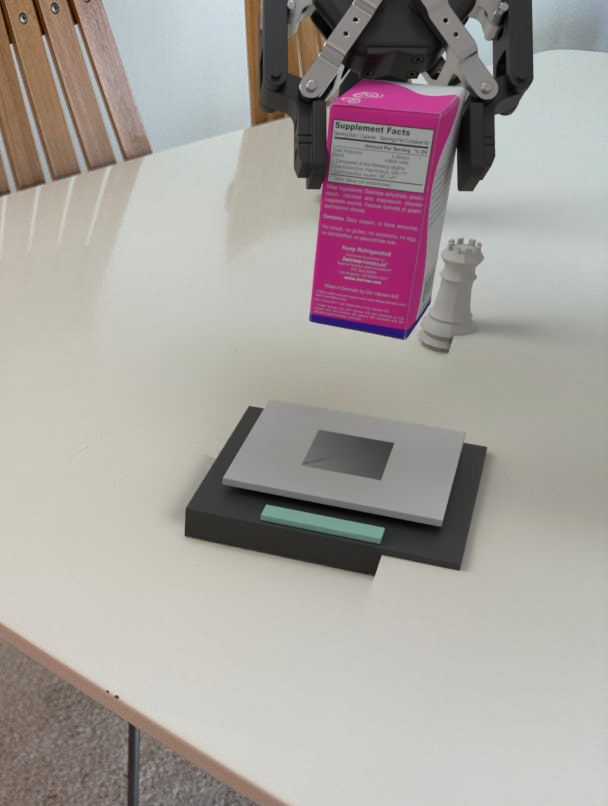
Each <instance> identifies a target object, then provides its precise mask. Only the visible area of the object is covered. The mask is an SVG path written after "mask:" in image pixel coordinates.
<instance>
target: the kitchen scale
mask: <svg viewBox="0 0 608 806" xmlns="http://www.w3.org/2000/svg"><path fill="white" fill-rule="evenodd" d="M466 436H467V432H466V431H461V430H454V429H449V428H442V427H437V426H431V425H425V424H420V423H419V424H418V423H414V422H406V421H402V420H395V419H390V418H389V419H388V418H383V417H378V416H371V415H366V414H360V413H353V412H348V411H342V410H336V409H331V408H326V407H325V408H324V407H318V406H312V405H308V404H307V405H306V404H300V403H296V402H295V403H294V402H289V401H283V400H277V399H268V401H267V402H266V404H265V406H264V407H258V406H253V405H248V407H247V408H246V409H245V411H244V413H243V415H242V416H241V418H240V420H239V421H238V423H237V425H235V428H234V430H233V431H232V432H231V434H230V436H229V437H228V439H227V441H226V442H225V444H224V445H223V446H222V448H221V451H219V454H218V455H217V457H216V458H215V460H214V462H213V463H212V465H211V467H210V468H209V470H208V472H207V473H206V474H205V476H204V478H203V479H202V481H201V482H200V484H199V485H198V488H197V489H196V491H195V492H194V494H193V495H192V497H191V499H190V500H189V502H188V503H187V505H186V507H185V510H184V511H185V512H184V513H185V514H184V534H183V535H184V537H189V538H193V539H197V540H202V541H207V542H212V543H216V544H221V545H226V546H232V547H236V548H241V549H244V550H245V549H246V550H250V551H255V552H259V553H260V552H261V553H265V554H269V555H274V556H279V557H284V558H287V559H288V558H289V559H293V560H298V561H302V562H307V563H311V564H317V565H320V566H325V567H330V568H335V569H341V570H345V571H350V572H354V573H360V574H364V575H369V576H376V574H377V571H378V568H379V565H380V562H381V559H382V556H385V557H390V558H396V559H399V560H400V559H401V560H404V561H405V560H406V561H410V562H415V563H420V564H425V565H430V566H434V567H440V568H443V569H449V570H455V571H460V570H461V566H462V562H463V557H464V553H465V550H466V549H465V548H466V544H467V540H468V535H469V530H470V526H471V522H472V517H473V513H474V509H475V504H476V499H477V495H478V492H479V491H478V490H479V486H480V482H481V478H482V473H483V468H484V464H485V460H486V455H487V451H488V446H485V445H480V444H474V443H469V442H465V440H466V439H465V438H466Z"/></svg>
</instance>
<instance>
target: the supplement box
mask: <svg viewBox="0 0 608 806" xmlns="http://www.w3.org/2000/svg"><path fill="white" fill-rule="evenodd" d="M466 92H467V89H466V88H465V87H459V86H445V85H429V84H428V83H426V84H425V83H414V82H408V83H404V82H394V81H384V80H373V79H362V80H361V81H360V82H358V83H357V84H356V85H355V86H353V87H352V88H351V89H350V90H348V91H347V92H346V93H344V94H343V95H342V96H341V97H339V98H338V97H337V98H336V99H335V100H333V102H331V103H330V104H329V114H328V123H327V124H328V125H327V144H326V147H327V166H326V174H325V177H324V180H323V183H322V186H321V195H320V205H319V215H318V226H317V237H316V245H315V253H314V254H315V255H314V264H313V265H314V267H313V275H312V285H311V296H310V304H309V305H310V306H309V316H308V321H309V322H311V323H312V324H313V323H314V324H318V325H324V326H328V327H329V326H330V327H335V328H339V329H346V330H351V331H356V332H361V333H367V334H372V335H377V336H382V337H386V338H391V339H396V340H401V341H406V340H407V339H408V338H409V337H410V335H411V334H412V333H413V331H414V330H415V329H416V327H417V325H418V324H419V322H420V321H421V319H422V318H423V317H424V315H425V313H426V311H427V309H428V308H429V307H430V305H431V303H432V295H433V294H432V293H433V288H434V283H435V277H436V270H437V264H438V259H439V258H438V257H439V253H440V245H441V241H442V234H443V230H444V225H445V224H444V223H445V217H446V212H447V205H448V200H449V195H450V189H451V184H452V178H453V172H454V166H455V161H456V156H457V143H458V137H459V132H460V126H461V120H462V115H463V109H464V103H465V97H466Z"/></svg>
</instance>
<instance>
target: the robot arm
mask: <svg viewBox="0 0 608 806" xmlns="http://www.w3.org/2000/svg"><path fill="white" fill-rule="evenodd" d="M257 17H258V18H257V20H258V21H257V22H258V23H257V24H258V27H257V28H258V29H257V30H258V35H257V36H258V37H257V38H258V39H257V40H258V54H257V55H258V57H257V58H258V61H257V62H258V65H257V66H258V67H257V68H258V69H257V70H258V71H257V72H258V74H257V75H258V77H257V78H258V107H259V109H260V110H261V111H262V112H264V113H266V114H274V113H276V112H280V113H283V114H285V115H287V116H289V118H290V119H291V120H292V123H293V124H292V125H293V170H294V173H295V175H296V178H297V179H305V188H306V190H322V185H323V180H324V177H325V174H326V166H327V147H326V144H327V134H328V125H327V124H328V123H327V121H328V119H327V101H328V100H329V99H330V97H333V96H334V94H335V93H336V92H337V90H339V87H340V84H341V83H342V82H343V80H344V79H345V77H346V76H347V74H348V73H349V72H350V70H351V71H353V72H356V73H359V78H367V79H373V78H377V77H381V76H385V75H390V76H394V77H398V78H402V79H408V80H418V78H419V77H420V74H421V76H422V78H423V79H424V80H425V82H426V84H428V85H445V86H459V87H465V88H466V89H467V92H466V97H465V103H464V109H463V115H462V120H461V126H460V132H459V137H458V143H457V149H456V175H457V176H456V181H457V182H456V183H457V184H456V185H457V191H458V192H474V191H475V189H476V187H477V186H478V184H479V182H480V181H483V180H484V178H485V177H486V176H487V174H488V172H489V171H490V169H491V168H492V165H493V163H494V161H495V159H496V126H495V124H496V119H495V116H497V115H500V116H502V117H507V116H511V115H512V114H513V113H515V111H516V109H517V108H518V106H519V104H520V102H521V100H522V98H523V97H524V95H525V93H526V92H527V91H528V90H529V89H530V87H531V86H532V83H533V82H534V78H535V77H534V76H535V75H534V74H535V73H534V31H533V30H534V29H533V28H534V27H533V26H534V25H533V22H534V21H533V0H260V5H259V11H258V16H257ZM308 17H309V18H310V21H311V24H312V25H313V26H314V27H315V28H316V30H317V31H318V33H319V34H320V35H321V36H322V38H323V39H324V40H325V42H324V44H323V46H322V48H321V50H320V52H319V54H318V56H317V57H316V59H315V60H314V61H313V63H312V64H311V66H310V67H309V68H308V70H307V72H306V73H305V74H304V76H303V77H300V76H297V75H294V74H292V73H290V72H289V51H288V50H289V42H288V40H289V38H290V37H292V36H294V35H295V34H296V33H297V32H298V29H299V25H300V23H301V21H302V20H304V19H305V18H308ZM469 19H474V20H476V21H478V22H479V24H480V26H481V29H482V30H481V31H482V33H483V34H484V36H483V37H484V40H485V41H487V42H492V73H491V72H490V71H489V69H488V68H487V67H486V65H485V64H484V62H483V61H482V59H481V58H480V56H479V48H478V44H477V42H476V40H475V38H473V36H472V34H471V33H470V32H469V30H468V29H467V28H466V25H467V23H468V21H469ZM444 54H445V56H446V58H444V56H443V55H444Z"/></svg>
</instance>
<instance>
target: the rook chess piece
mask: <svg viewBox="0 0 608 806" xmlns="http://www.w3.org/2000/svg"><path fill="white" fill-rule="evenodd" d="M464 240H465V237H457V238H456V239H454V238H451V239H449V240H448V242H447V246H446V247H445V248H444V249H443V250H442V251H441V252H440V257H441V259H442V261H443V263H444V267H443V269H442V270H441V271H440V272H439V276H440V285H439V289H438V291H437V295H436V297H435V301H434V303H433V304H432V306H431V308H429V309H428V312H427V314H425V315H423V317H422V320H421V322H420V328H421V329H420V330H419V331H418V332H417V338H418V339H419V341H420V343H421V345H422V346H423V347H425V348H427V349H428V350H430V351H434V352H438V353H443V354H444V353H445V354H450V353H449V352H450V349H451V346H452V344H453V340H454V338H455V336H457V337H458V336H460V337H461V336H464V335H470V334H471V333H473V332H474V331H475V329H476V323H475V321H474V320H473V316H474V315H473V313H472V308H471V304H472V303H471V301H472V291H473V290H472V289H473V284H474V282H475V281H476V280H477V279H478V276H477V273H476V268H477V267H478V266H479V265H480V264H481V263H482V262H483V261H484V260H485V256H484V254H483V252H482V246H483V244H482V243H481V242H480V241H477V239H473V238H469V239H468V243H467V244H466V243H464ZM455 242H456V243H455Z"/></svg>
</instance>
